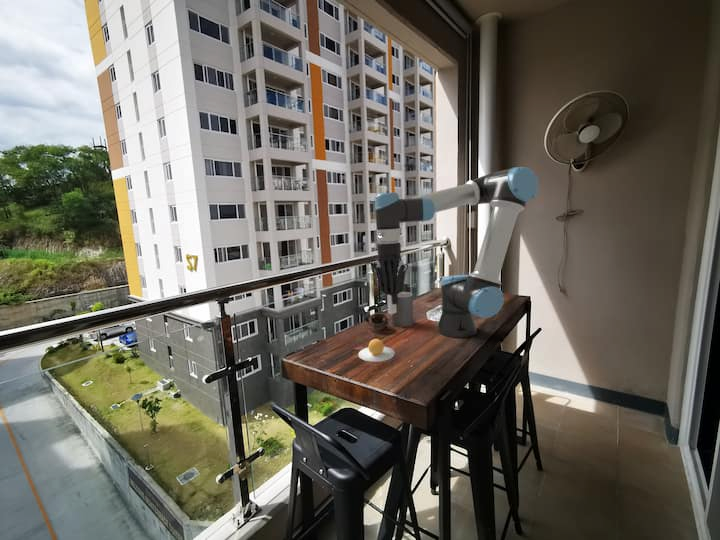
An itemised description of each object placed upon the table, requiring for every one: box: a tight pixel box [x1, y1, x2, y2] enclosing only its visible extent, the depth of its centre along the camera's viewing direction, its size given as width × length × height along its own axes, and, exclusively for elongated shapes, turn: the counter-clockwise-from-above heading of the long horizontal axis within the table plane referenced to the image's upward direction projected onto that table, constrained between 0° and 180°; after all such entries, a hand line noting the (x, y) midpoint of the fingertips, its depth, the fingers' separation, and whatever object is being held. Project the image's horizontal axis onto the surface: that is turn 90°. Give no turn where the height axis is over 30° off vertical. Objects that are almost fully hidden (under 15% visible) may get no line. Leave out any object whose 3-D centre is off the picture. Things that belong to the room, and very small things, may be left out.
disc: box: [357, 346, 396, 363], centre depth 117 cm, size 13×13×1 cm
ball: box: [367, 338, 385, 355], centre depth 116 cm, size 6×6×6 cm
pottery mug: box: [364, 312, 390, 333], centre depth 142 cm, size 12×10×8 cm
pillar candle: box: [391, 291, 414, 328], centre depth 146 cm, size 10×10×15 cm
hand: (392, 313), depth 109 cm, fingers closed
